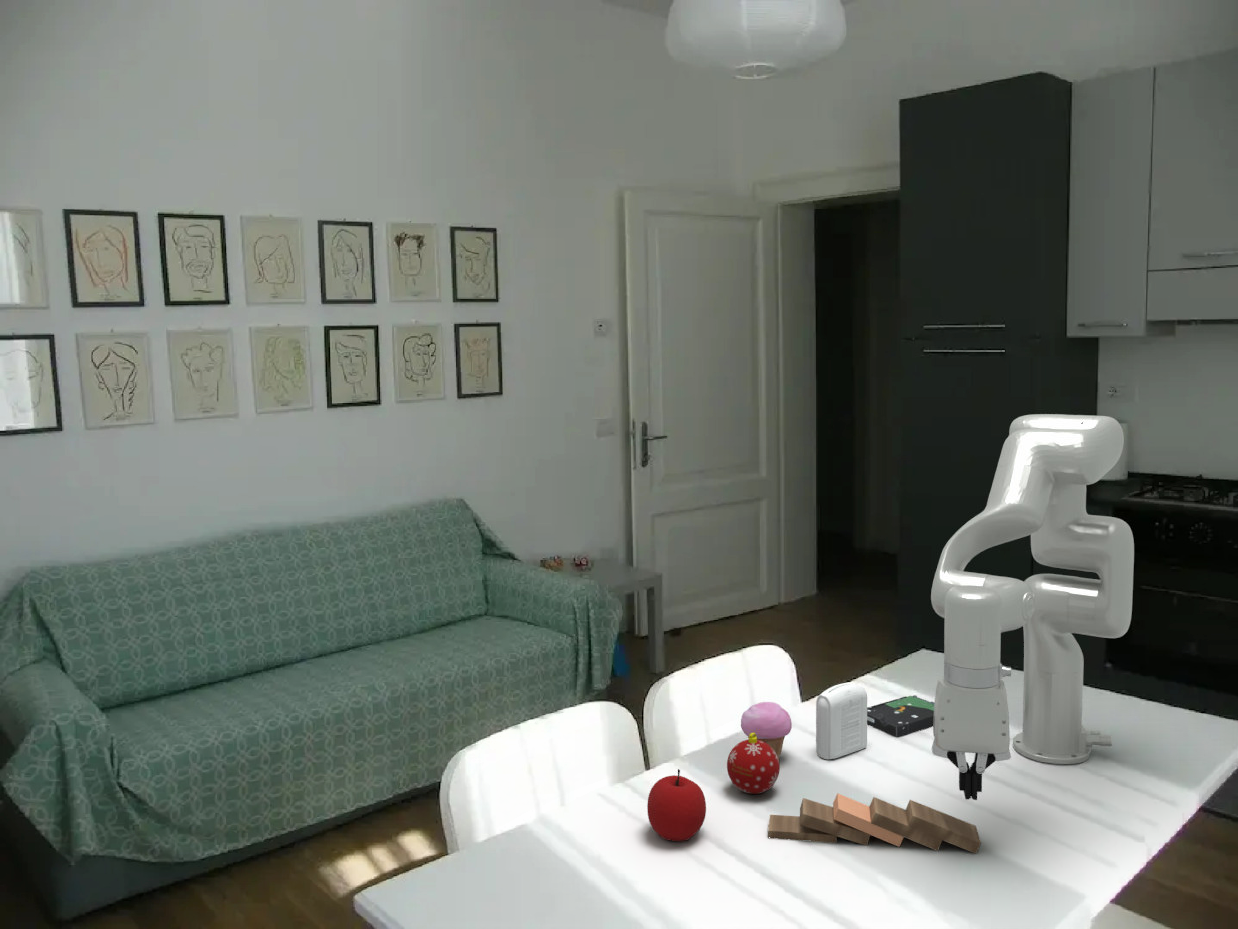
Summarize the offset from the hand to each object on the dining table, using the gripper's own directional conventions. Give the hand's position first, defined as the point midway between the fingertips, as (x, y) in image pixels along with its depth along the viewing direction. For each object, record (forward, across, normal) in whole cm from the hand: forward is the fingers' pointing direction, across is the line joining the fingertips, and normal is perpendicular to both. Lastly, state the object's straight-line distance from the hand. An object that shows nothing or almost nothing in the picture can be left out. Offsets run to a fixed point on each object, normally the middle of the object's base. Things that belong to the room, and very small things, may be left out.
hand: (970, 795), depth 143 cm
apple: (+8, +42, +4) cm, 43 cm away
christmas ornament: (+8, +32, -12) cm, 36 cm away
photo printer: (+8, +18, -30) cm, 36 cm away
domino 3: (+7, +10, 0) cm, 12 cm away
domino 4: (+7, +4, 0) cm, 8 cm away
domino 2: (+7, +14, 0) cm, 16 cm away
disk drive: (+8, +7, -46) cm, 47 cm away
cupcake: (+8, +32, -25) cm, 41 cm away
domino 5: (+7, -1, 0) cm, 7 cm away
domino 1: (+7, +19, 0) cm, 20 cm away
